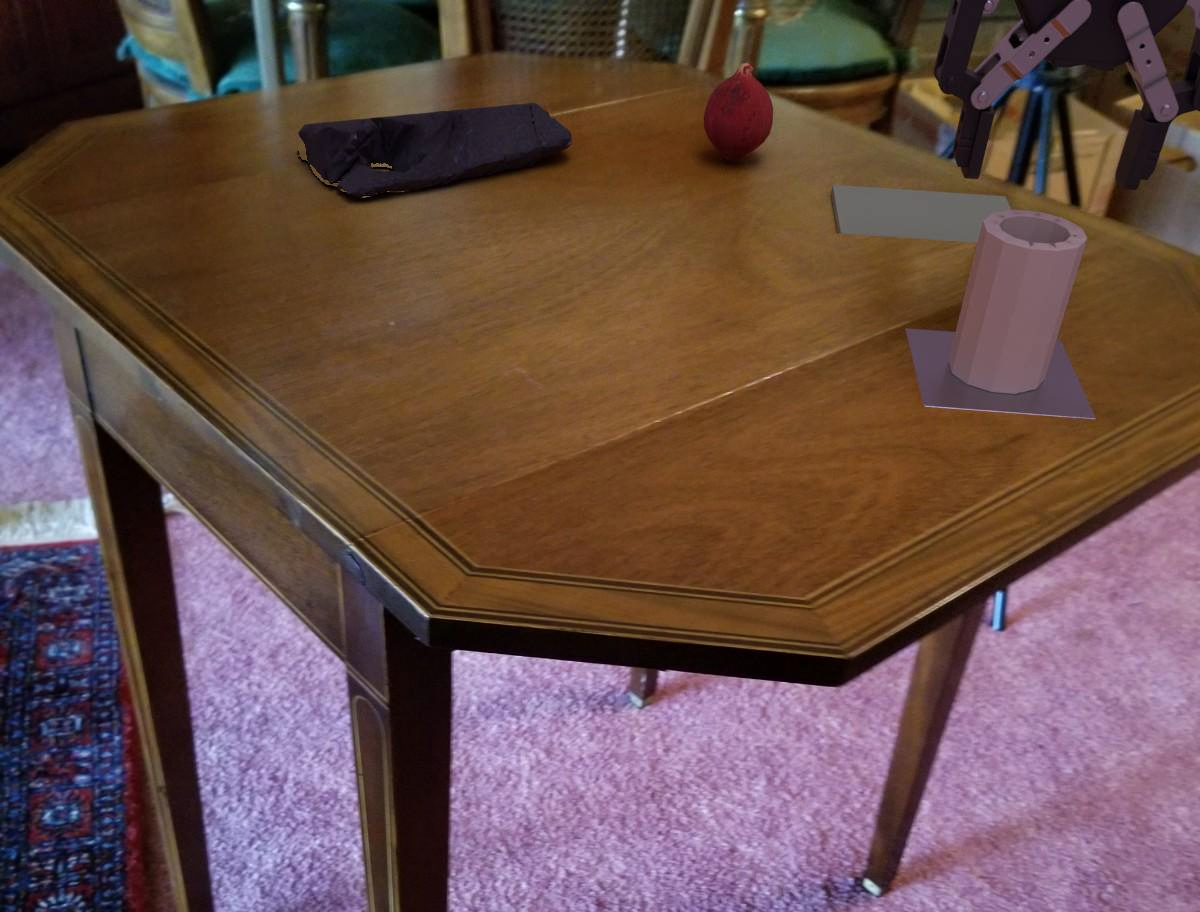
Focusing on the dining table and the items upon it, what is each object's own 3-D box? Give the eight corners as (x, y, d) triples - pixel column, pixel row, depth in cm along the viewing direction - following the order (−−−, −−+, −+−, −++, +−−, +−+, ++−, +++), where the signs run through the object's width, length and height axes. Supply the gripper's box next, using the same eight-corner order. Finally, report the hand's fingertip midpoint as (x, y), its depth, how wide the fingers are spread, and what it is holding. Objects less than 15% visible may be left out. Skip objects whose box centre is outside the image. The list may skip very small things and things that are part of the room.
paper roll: (1033, 352, 76) (1074, 213, 70) (1051, 397, 72) (1096, 252, 66) (943, 346, 76) (977, 206, 71) (956, 389, 72) (992, 245, 66)
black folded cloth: (594, 173, 101) (596, 114, 98) (336, 208, 93) (330, 146, 90) (522, 116, 111) (522, 61, 108) (285, 144, 103) (278, 86, 100)
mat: (1003, 205, 98) (1005, 195, 98) (1047, 302, 85) (1050, 292, 84) (831, 193, 99) (832, 184, 99) (846, 288, 85) (848, 277, 85)
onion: (750, 179, 101) (762, 79, 96) (688, 164, 103) (697, 66, 98) (777, 158, 105) (790, 61, 100) (717, 145, 107) (726, 49, 102)
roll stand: (1056, 355, 78) (1095, 227, 73) (1091, 436, 71) (1138, 300, 65) (901, 344, 79) (929, 216, 73) (919, 423, 71) (951, 287, 66)
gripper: (1270, -167, 59) (1158, 165, 69) (976, -185, 59) (909, 147, 70) (1328, -143, 53) (1196, 215, 63) (1002, -163, 54) (924, 195, 64)
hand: (1046, 179), depth 67 cm, fingers open, 8 cm apart
